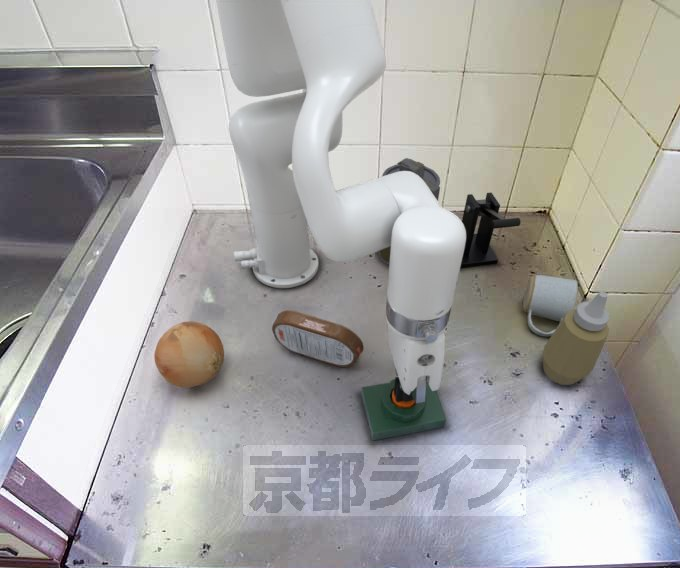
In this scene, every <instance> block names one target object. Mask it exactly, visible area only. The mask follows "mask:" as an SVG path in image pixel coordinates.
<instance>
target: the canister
mask: <svg viewBox="0 0 680 568" xmlns="http://www.w3.org/2000/svg"><path fill="white" fill-rule="evenodd" d="M399 171H410V172H413V173H415V174H417V175H418V176H419V177H420V178H422V180H423V181H424V182H425V183H426V185H427V186H428V187H429V189H430V190H431V192H432V193H433V195H434V196H435V198H436V199H437V201H438V202H439V197H440V190H441V187H440V185H441V178H440V175H438V173H437V172H436V171H435V170H434V169H432V168H430V167H428V166H426V165H425V164H424V163H422V162H420V161H416V160H415V159H412V158H408V157H405V158H403V159H401V160H400V161H399V162H397V163H396V164H394V165H391V166H389V167H388V168H386V169H385V170H384V172H383V173H382V175H381V177H382V176H385V175H389V174H392V173H395V172H399ZM390 250H391V246H389V247H387V248H384V249H382V250H379V251H377V252H378V257H379V259H380V260H381V261H382V262H383V264H385V265H388V266H389V264H390Z"/></svg>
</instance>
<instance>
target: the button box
mask: <svg viewBox="0 0 680 568" xmlns="http://www.w3.org/2000/svg"><path fill="white" fill-rule="evenodd" d="M428 382H429V381H428ZM428 382H426V390H425V402H421V403H416V404H415V406H413V407H412V408H407V409H402V408H399V407H396V406H395V405H394V404H393V403H392V401H391V400H392V392H393V390H394V384H395V378H394V379H391V381H389V382H385V383H379V384H374V385H373V384H372V385H367V386H362V387H361V398H362V403H363V407H364V411H365V414H366V419H367V422H368V427H369V431H370V435H371V436H370V437H371V440H372V441H378V440H383V439H388V438H394V437H400V436H404V435H410V434H416V433H419V432H425V431H430V430H436V429H441V428H445V426H446V422H447V417H446V415H445V411H444V409H443V406H442V404H441V401H440V398H439V396H438V393H437V390H435V391H432V390H431V388H430V386H429V384H428Z"/></svg>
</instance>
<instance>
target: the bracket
mask: <svg viewBox="0 0 680 568" xmlns="http://www.w3.org/2000/svg"><path fill="white" fill-rule="evenodd" d="M465 200H466V201H465V205H464V210H463V214H462V219H461V221H462V223H463V224H464V227H465V230H466V243H465V249H464V253H463V257H462V262H461V266H460V269H468V268H474V267H475V268H476V267H477V268H478V267H484V266H493V265H497V264H498V262H499V259H498V257H497V256H496V253H495V252H494V250H493V249H492V247H491V245H490V244H491V240H492V237H493V233H494V230H495V229H492V228H491V221H492V219H491V218H489V217H488V216H480V220H479V223H478V218H479V216H478V215H479V211H480V206H479V204H478V203H477V201H476V200H477V199H476V198H475V196H474V194H472V193H468V194H467V195H466V199H465ZM485 200H486V201H488V202H490V203H491V204H490V209H492V210H493V211H495V212H496V213H498V214H499V211H500V207H501V203H499V202H498V199H497V198H496V196H494V193H493V192H487V193H486V195H485ZM477 224H478V228H476V227H477ZM476 229H477V232H476Z"/></svg>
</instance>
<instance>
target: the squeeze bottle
mask: <svg viewBox="0 0 680 568" xmlns="http://www.w3.org/2000/svg"><path fill="white" fill-rule="evenodd" d="M608 297H609V295H608V293H607V292H606V291H599V292H598V293H597V294H596V295H595V296H594V297H593V299H591V300H590V301H583V302H580V303H579V304H577V306H576V308H575V309H573V310H572V311H569V312H568V313H567V314H566V315H565V317H564V318H563V320H562V321H561V323H560V322H559V323H560V324H558V325H557V327H556V328H557V329H556V328H555V329H556V330H555V329H554V330H555V332H554V333H553V334H552V336H549V339H548V340H547V342H546V343H545V345H544V346H543V351H542V368H543V372H544V374H545V375H546V376H547V377H548V379H549V380H551V381H552V382H554V383H556V384H559V385H561V386H570V385H573V384H576V383H577V382H579V381H581V380H583V379H584V378H586V377H588V376H589V375H590V374H591V373H592V371H594V368H595V366H596V363H597V361H598V359H599V356H600V354H601V352H602V350H603V348H604V345H605V344H606V341H607V338H608V336H609V332H610V328H609V325H608V322H609V321H610V313H609V311H608V310H607V309H606V305H607V300H608Z"/></svg>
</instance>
